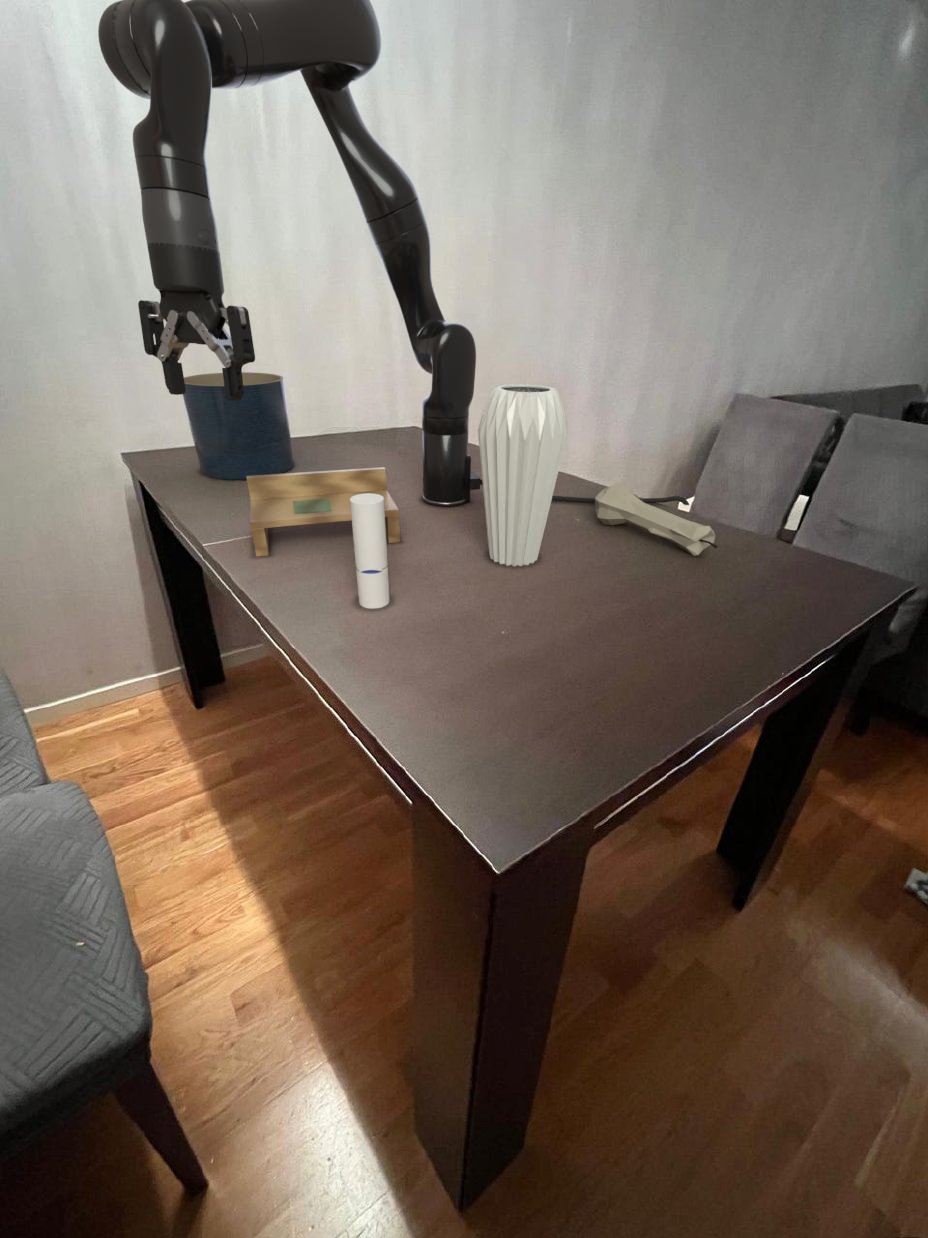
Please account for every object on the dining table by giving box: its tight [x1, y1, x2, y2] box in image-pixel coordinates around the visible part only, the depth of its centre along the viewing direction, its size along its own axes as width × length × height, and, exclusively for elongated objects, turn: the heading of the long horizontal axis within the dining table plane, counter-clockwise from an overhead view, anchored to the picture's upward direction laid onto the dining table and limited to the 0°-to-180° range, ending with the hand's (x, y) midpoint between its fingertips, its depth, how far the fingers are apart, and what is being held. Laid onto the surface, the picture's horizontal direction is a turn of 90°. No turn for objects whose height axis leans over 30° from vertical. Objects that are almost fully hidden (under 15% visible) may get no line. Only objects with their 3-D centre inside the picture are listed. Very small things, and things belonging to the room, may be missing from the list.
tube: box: [350, 493, 390, 610], centre depth 74 cm, size 4×4×15 cm
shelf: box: [246, 466, 401, 558], centre depth 95 cm, size 24×12×10 cm, turn 108°
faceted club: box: [594, 480, 718, 557], centre depth 98 cm, size 9×8×25 cm
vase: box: [477, 383, 568, 568], centre depth 85 cm, size 13×13×26 cm
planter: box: [181, 371, 294, 481], centre depth 129 cm, size 22×22×20 cm
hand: (205, 396), depth 70 cm, fingers open, 8 cm apart
